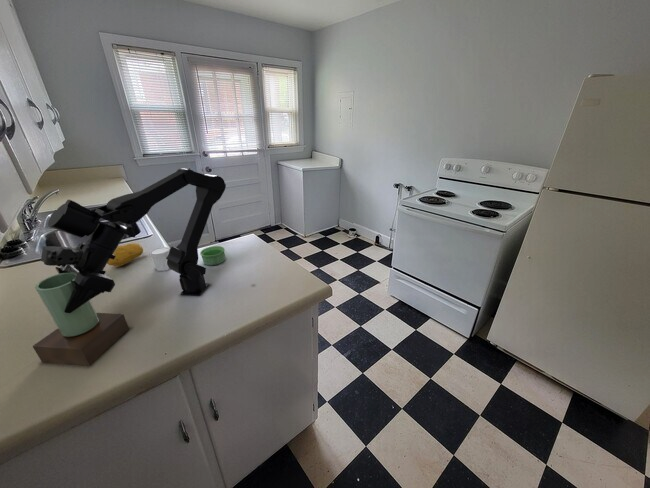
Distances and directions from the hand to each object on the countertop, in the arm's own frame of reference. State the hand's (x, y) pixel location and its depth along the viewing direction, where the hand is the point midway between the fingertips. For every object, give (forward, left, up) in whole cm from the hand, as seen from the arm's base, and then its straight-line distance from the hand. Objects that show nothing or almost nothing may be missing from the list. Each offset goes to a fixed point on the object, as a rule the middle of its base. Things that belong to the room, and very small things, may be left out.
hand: (61, 306), depth 61 cm
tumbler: (-1, -1, -7) cm, 7 cm away
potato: (+23, -43, -9) cm, 49 cm away
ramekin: (-12, -46, -12) cm, 49 cm away
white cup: (+5, -40, -12) cm, 42 cm away
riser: (-1, -1, -12) cm, 12 cm away
